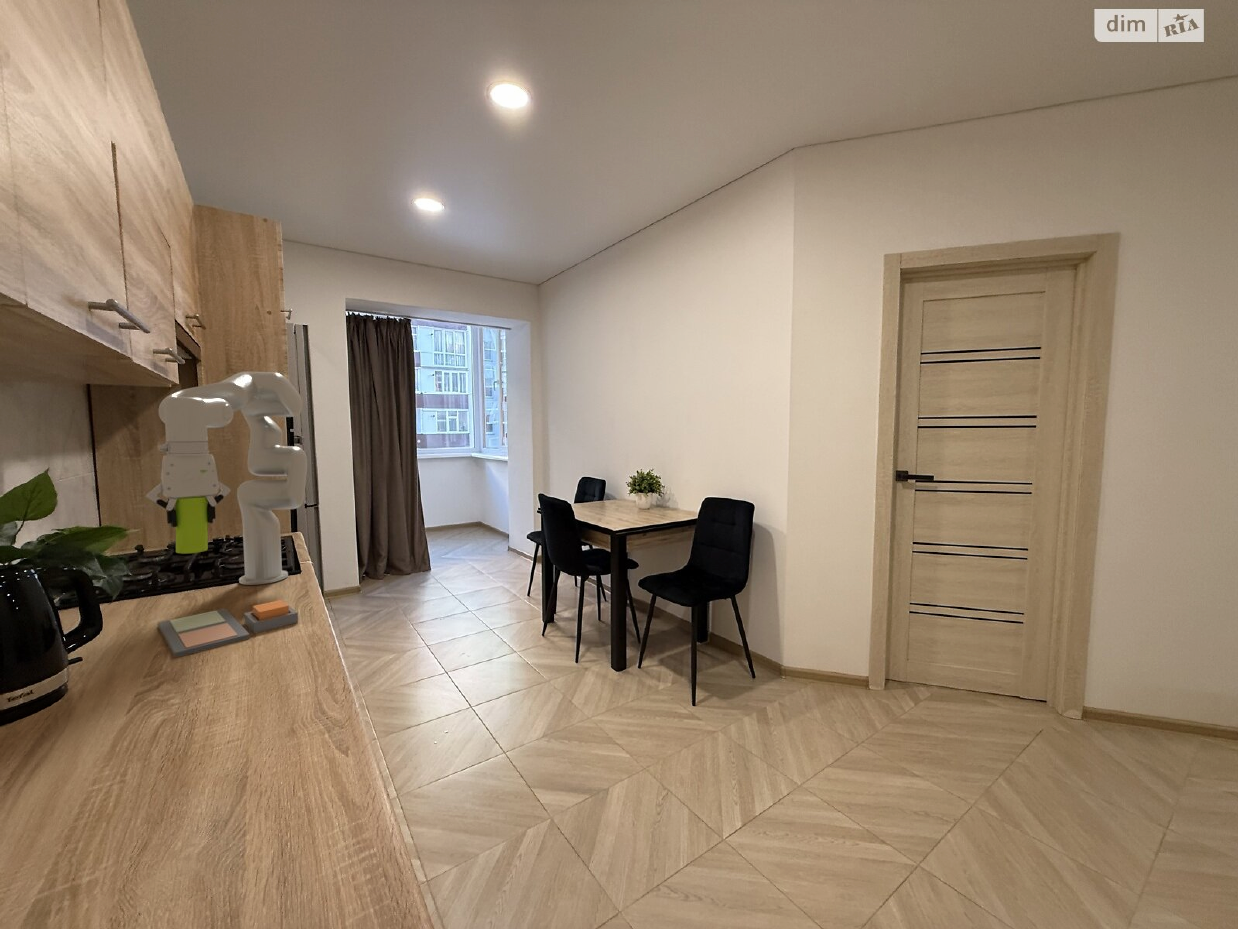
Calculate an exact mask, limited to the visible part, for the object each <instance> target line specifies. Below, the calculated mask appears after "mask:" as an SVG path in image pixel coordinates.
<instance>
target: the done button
mask: <svg viewBox="0 0 1238 929" xmlns="http://www.w3.org/2000/svg"><path fill="white" fill-rule="evenodd" d="M288 605H289V604H287V603H285V602H284V601H283V600H282V599H279V600H275V601H271V602H265V603H262V604H261V603H260V604H256V605H252V611H253V614H254V615H255V616H256V617H257V618H258V619H259V620H263V619H267V618H272V617H276V616H280V615H284V614H288V613H289V606H290V605H289V606H288Z"/></svg>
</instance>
